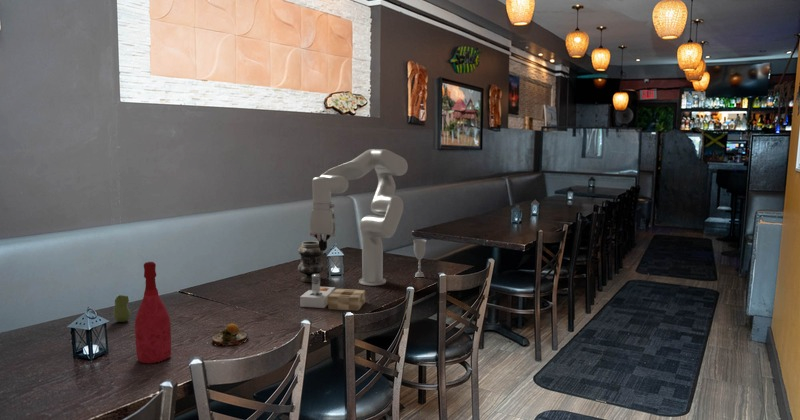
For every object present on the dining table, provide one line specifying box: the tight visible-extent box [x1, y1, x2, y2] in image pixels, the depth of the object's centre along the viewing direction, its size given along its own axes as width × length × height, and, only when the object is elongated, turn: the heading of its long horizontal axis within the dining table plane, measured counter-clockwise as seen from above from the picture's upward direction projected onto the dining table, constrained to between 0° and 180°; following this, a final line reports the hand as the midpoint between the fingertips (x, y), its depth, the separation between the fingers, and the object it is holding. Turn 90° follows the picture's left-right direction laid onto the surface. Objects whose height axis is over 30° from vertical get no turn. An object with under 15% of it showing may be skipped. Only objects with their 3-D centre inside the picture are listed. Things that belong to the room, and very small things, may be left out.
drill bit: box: [311, 273, 321, 296], centre depth 227 cm, size 3×3×12 cm
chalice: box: [412, 238, 427, 278], centre depth 271 cm, size 7×7×18 cm
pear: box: [112, 294, 132, 323], centre depth 203 cm, size 6×5×10 cm
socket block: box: [299, 286, 336, 309], centre depth 231 cm, size 18×10×4 cm, turn 170°
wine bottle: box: [134, 261, 172, 364], centre depth 168 cm, size 10×10×30 cm
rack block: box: [327, 288, 366, 312], centre depth 225 cm, size 12×12×5 cm
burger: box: [210, 321, 249, 347], centre depth 186 cm, size 12×12×8 cm
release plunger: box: [320, 286, 327, 291], centre depth 236 cm, size 4×4×3 cm
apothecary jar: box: [297, 240, 324, 283], centre depth 265 cm, size 12×12×18 cm
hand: (323, 250), depth 234 cm, fingers closed
